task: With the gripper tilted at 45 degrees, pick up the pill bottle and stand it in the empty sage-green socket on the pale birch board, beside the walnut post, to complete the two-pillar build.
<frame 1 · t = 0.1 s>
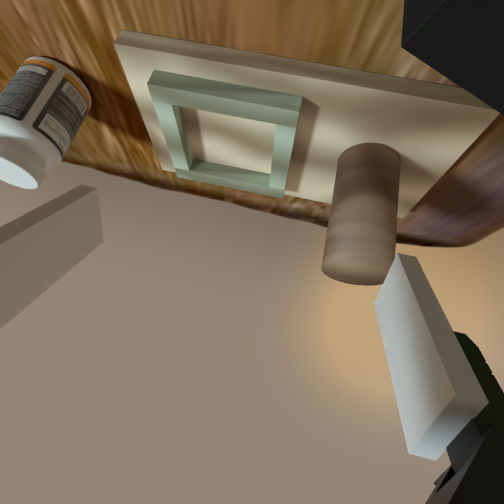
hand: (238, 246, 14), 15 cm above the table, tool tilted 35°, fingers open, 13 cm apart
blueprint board: (290, 135, 28), on the table
pill bottle: (62, 81, 29), on the table
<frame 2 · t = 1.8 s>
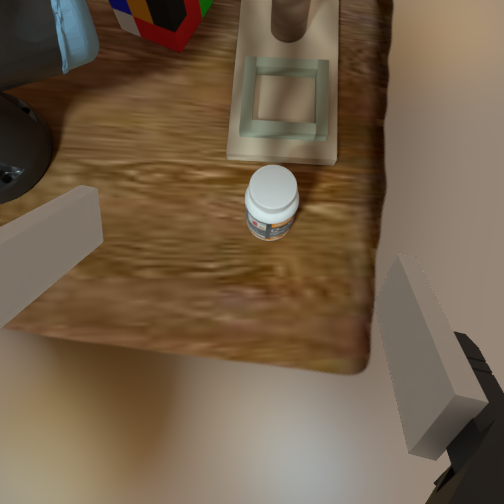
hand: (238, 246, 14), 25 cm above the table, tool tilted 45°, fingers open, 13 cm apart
puzzle toy: (168, 17, 48), on the table
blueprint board: (285, 78, 45), on the table
pill bottle: (269, 220, 41), on the table
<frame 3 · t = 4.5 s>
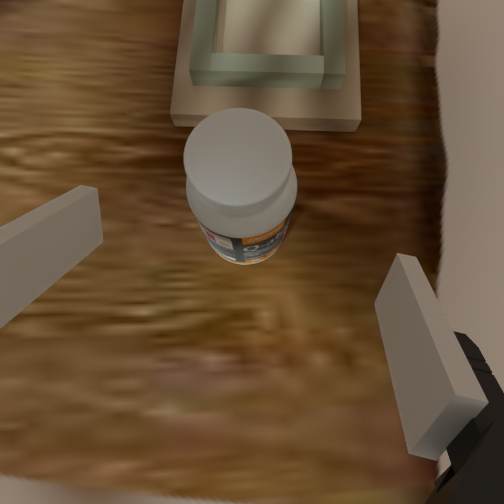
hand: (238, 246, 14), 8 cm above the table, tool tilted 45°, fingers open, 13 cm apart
pill bottle: (246, 228, 23), on the table
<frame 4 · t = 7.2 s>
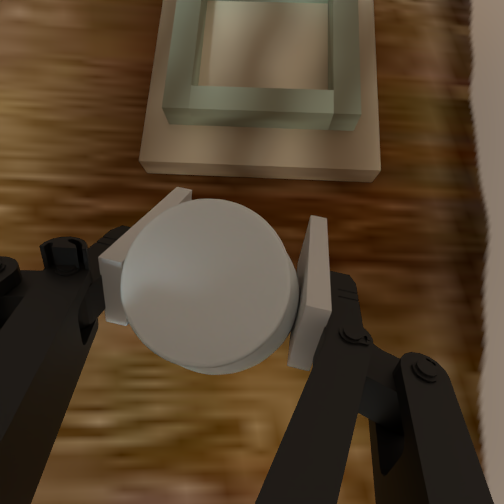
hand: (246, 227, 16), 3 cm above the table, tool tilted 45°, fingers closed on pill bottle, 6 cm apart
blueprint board: (267, 11, 23), on the table
pill bottle: (234, 306, 18), on the table, touching gripper
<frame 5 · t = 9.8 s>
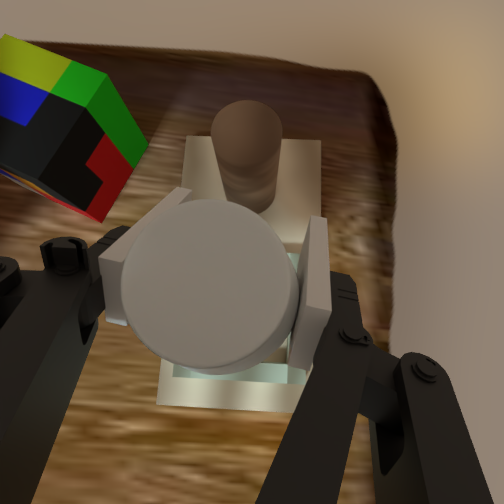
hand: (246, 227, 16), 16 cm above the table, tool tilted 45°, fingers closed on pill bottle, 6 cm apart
puzzle toy: (87, 166, 35), on the table
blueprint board: (246, 263, 32), on the table
pill bottle: (234, 307, 18), point 13 cm above the table, touching gripper
when the fingers open (7 cm above the table, at t = 12.7 s): pill bottle drops 2 cm, resting on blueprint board.
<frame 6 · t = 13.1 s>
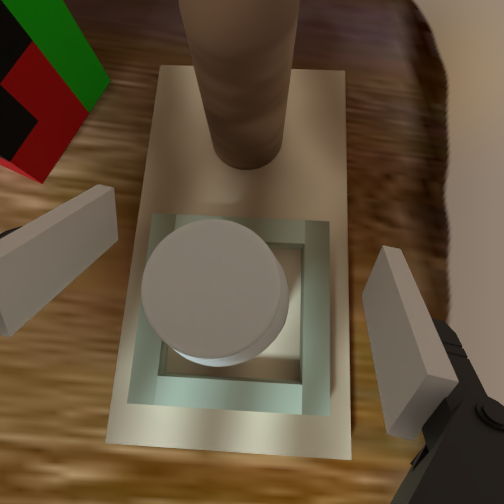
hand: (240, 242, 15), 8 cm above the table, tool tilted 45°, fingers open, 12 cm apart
puzzle toy: (27, 109, 26), on the table
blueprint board: (242, 238, 23), on the table
pill bottle: (232, 308, 20), point 1 cm above the table, touching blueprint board
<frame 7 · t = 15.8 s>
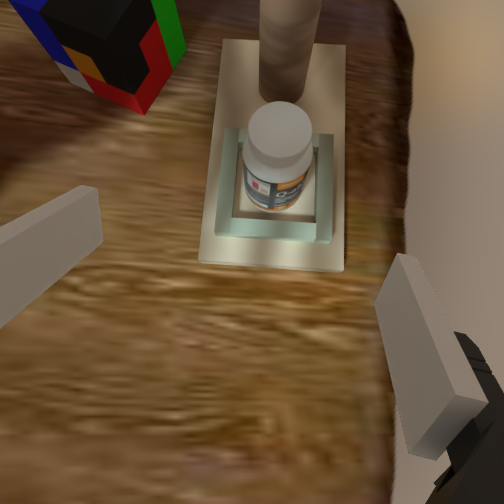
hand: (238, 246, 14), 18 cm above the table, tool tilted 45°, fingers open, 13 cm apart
puzzle toy: (130, 67, 38), on the table
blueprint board: (276, 151, 35), on the table
pill bottle: (272, 188, 33), point 1 cm above the table, touching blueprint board
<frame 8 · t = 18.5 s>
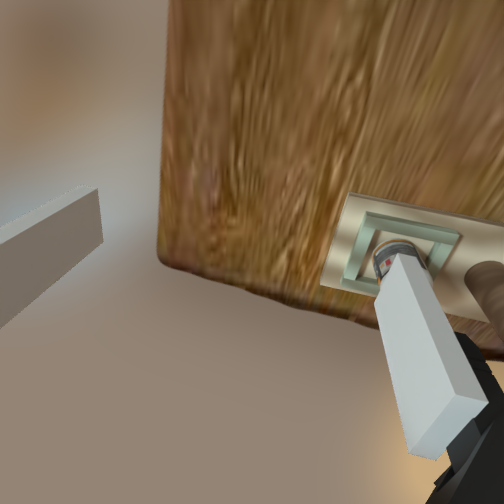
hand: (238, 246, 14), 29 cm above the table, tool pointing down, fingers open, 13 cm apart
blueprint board: (428, 259, 44), on the table
pill bottle: (393, 254, 43), point 1 cm above the table, touching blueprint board
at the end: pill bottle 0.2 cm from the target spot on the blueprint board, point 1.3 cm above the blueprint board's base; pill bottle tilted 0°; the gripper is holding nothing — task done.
